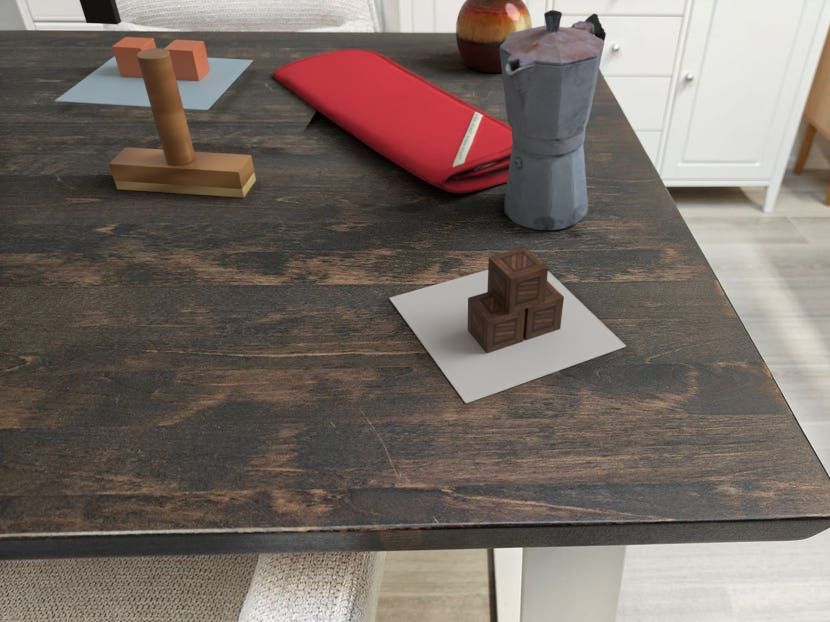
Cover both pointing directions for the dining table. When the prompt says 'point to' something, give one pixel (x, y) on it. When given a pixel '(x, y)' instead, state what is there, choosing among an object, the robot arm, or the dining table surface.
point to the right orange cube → (189, 59)
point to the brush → (176, 146)
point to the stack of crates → (504, 325)
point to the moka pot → (549, 119)
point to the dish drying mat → (404, 118)
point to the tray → (132, 91)
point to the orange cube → (131, 55)
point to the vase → (488, 30)
